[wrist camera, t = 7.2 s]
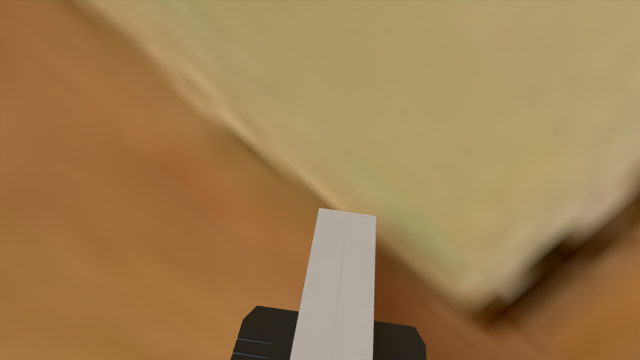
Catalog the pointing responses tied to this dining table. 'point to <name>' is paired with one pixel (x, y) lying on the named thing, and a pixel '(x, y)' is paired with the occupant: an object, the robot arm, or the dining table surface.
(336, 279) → the robot arm
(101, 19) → the dining table surface
